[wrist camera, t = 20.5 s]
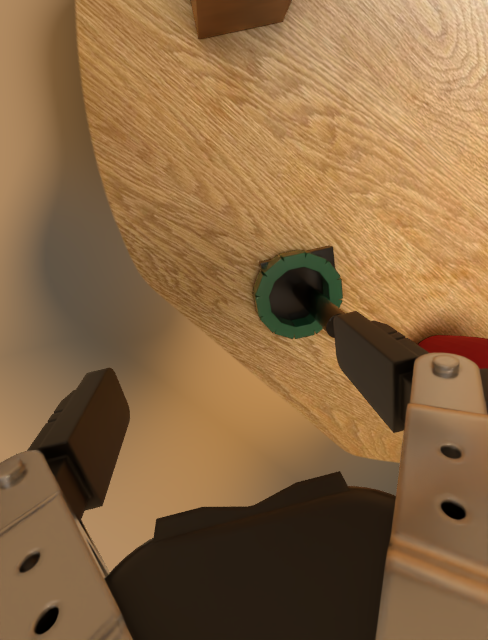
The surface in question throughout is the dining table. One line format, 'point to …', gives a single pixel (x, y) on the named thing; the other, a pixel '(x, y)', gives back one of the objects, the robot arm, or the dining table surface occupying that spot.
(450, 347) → the vase
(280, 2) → the brown rectangular block
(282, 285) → the post
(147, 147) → the dining table surface
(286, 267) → the ring
